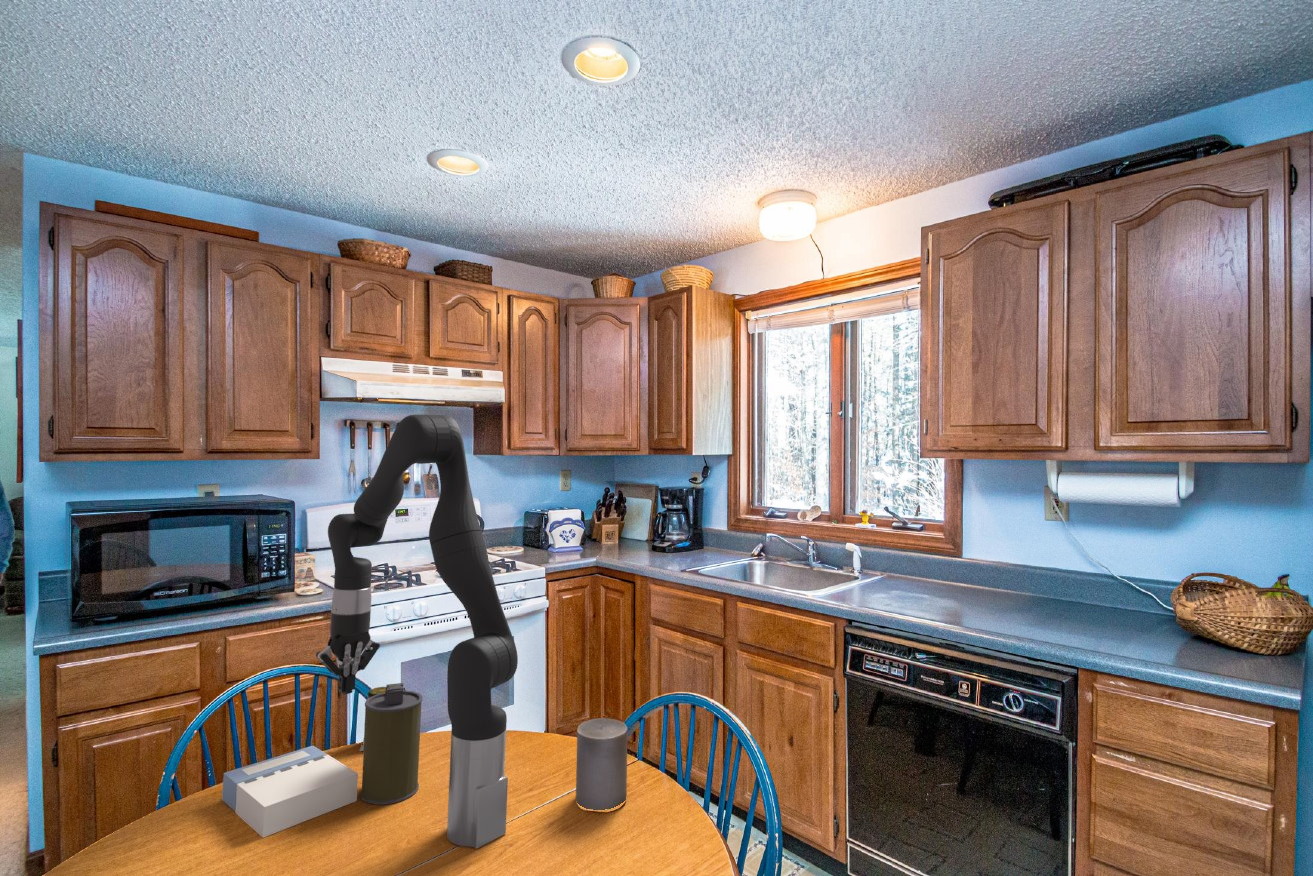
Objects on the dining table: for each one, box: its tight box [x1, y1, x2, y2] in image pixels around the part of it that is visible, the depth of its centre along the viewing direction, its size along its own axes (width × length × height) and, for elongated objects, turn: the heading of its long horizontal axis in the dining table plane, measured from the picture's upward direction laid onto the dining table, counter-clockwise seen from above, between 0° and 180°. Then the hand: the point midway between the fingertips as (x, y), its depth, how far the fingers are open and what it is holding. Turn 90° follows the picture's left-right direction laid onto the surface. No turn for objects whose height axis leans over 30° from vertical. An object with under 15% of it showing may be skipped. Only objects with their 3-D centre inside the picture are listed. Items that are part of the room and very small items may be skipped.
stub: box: [221, 745, 328, 811], centre depth 124 cm, size 6×16×5 cm, turn 142°
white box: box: [235, 754, 359, 838], centre depth 118 cm, size 12×16×5 cm
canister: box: [359, 682, 424, 806], centre depth 125 cm, size 11×10×20 cm
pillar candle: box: [575, 717, 628, 810], centre depth 124 cm, size 10×10×15 cm
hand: (346, 692), depth 135 cm, fingers closed
